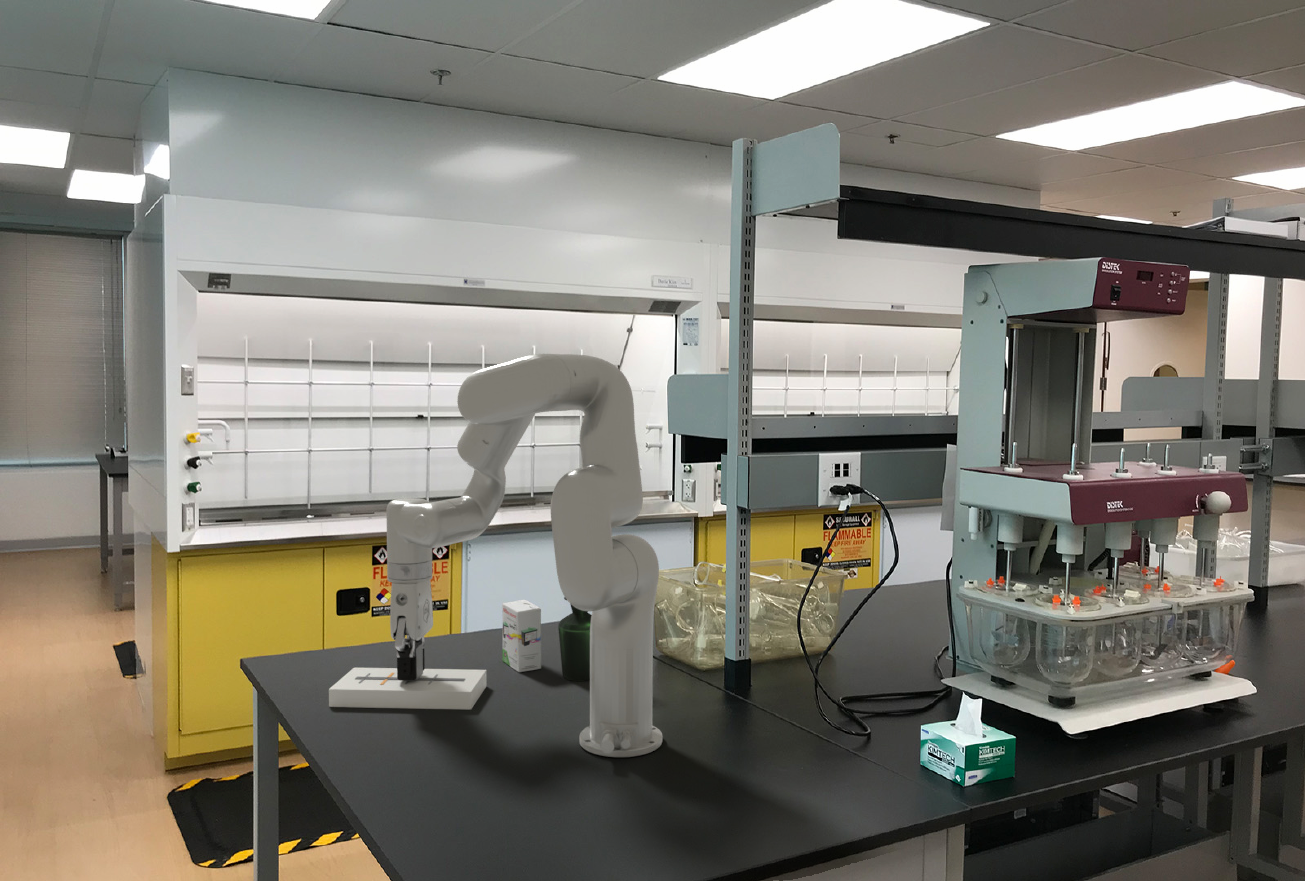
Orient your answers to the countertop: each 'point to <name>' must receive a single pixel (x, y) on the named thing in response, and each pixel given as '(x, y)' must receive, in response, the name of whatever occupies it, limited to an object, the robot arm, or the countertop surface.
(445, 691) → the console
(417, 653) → the fader knob
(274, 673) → the countertop surface
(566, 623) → the potion bottle
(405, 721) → the countertop surface
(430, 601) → the robot arm
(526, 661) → the ink box
